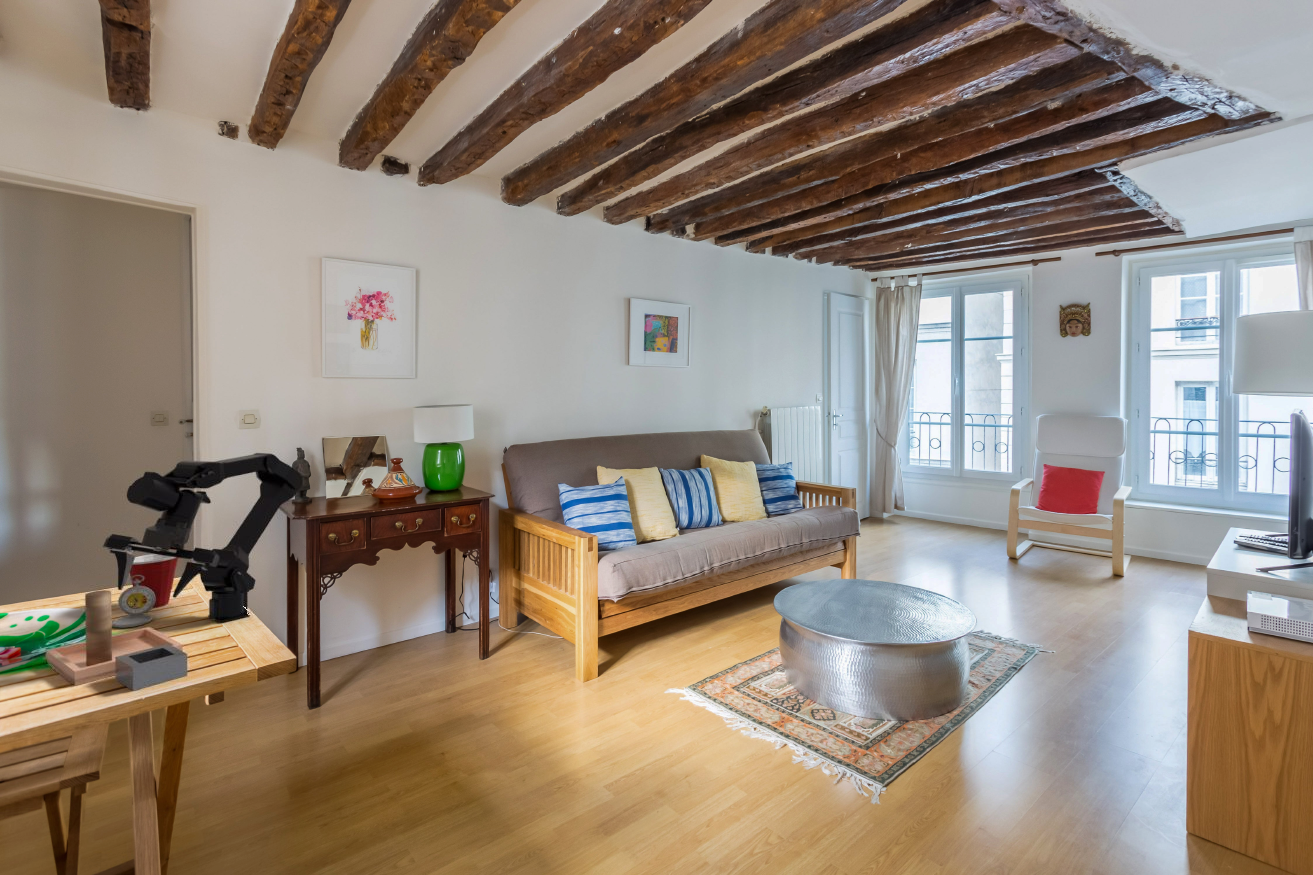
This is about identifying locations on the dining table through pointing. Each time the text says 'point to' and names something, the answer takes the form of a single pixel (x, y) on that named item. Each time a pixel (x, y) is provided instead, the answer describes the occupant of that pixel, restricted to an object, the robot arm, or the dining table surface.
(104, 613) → the dowel
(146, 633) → the tray
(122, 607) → the pocket watch
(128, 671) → the socket
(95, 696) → the dining table surface
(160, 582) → the plastic cup
